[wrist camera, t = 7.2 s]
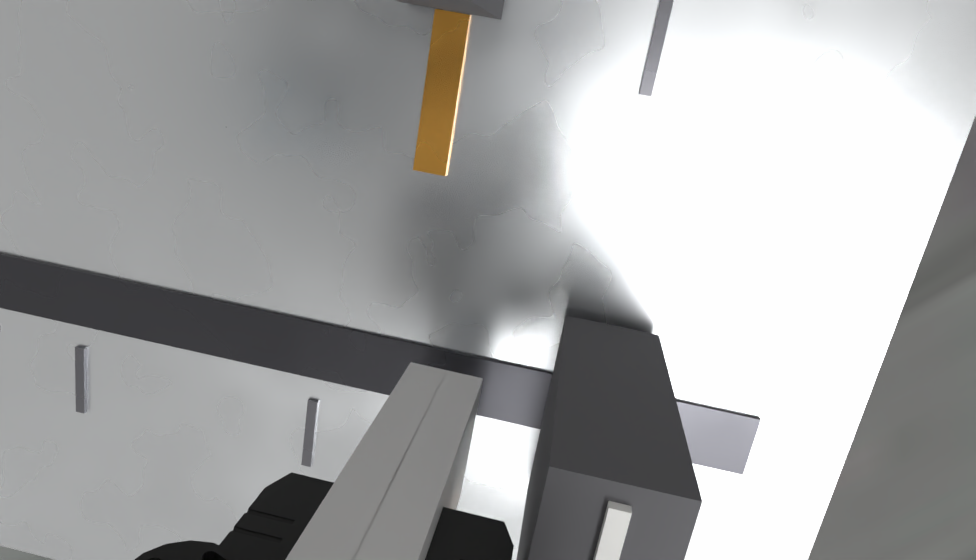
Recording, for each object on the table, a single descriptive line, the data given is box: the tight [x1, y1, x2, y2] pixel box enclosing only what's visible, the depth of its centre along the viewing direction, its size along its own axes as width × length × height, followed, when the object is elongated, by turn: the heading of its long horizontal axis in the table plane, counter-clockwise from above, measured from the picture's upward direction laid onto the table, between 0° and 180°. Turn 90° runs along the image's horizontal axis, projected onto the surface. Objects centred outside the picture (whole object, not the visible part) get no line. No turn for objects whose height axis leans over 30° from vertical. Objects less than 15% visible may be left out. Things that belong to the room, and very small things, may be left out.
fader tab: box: [517, 315, 702, 560], centre depth 12 cm, size 4×2×6 cm, turn 170°
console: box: [0, 0, 976, 560], centre depth 16 cm, size 22×24×2 cm
